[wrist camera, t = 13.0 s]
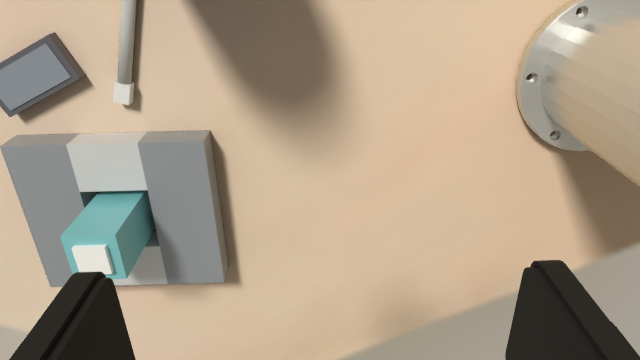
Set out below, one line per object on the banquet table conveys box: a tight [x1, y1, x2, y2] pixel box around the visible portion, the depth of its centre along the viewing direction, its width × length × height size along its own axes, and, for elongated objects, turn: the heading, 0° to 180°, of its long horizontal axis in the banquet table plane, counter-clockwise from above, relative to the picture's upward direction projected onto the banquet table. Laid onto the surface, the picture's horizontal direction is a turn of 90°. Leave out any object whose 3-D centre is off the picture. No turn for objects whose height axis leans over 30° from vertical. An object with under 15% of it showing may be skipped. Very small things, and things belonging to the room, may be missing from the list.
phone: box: [0, 33, 86, 117], centre depth 36 cm, size 7×4×1 cm, turn 116°
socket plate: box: [0, 130, 229, 287], centre depth 41 cm, size 16×14×2 cm
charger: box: [60, 190, 156, 279], centre depth 38 cm, size 4×4×8 cm
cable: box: [113, 0, 136, 105], centre depth 35 cm, size 11×1×1 cm, turn 166°
